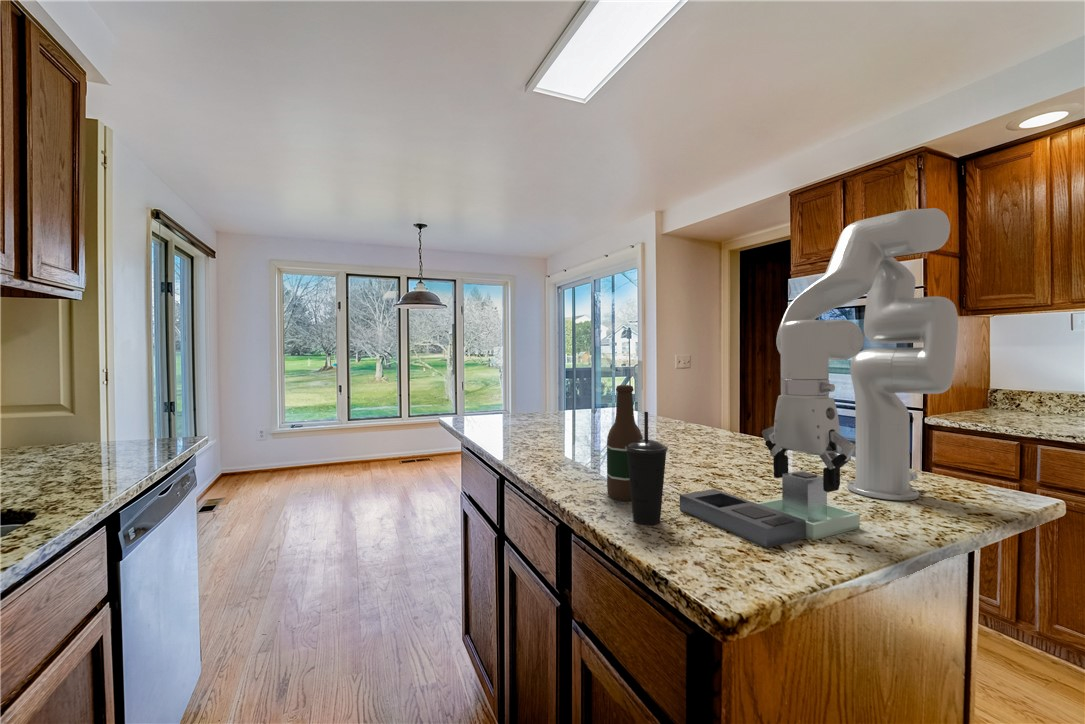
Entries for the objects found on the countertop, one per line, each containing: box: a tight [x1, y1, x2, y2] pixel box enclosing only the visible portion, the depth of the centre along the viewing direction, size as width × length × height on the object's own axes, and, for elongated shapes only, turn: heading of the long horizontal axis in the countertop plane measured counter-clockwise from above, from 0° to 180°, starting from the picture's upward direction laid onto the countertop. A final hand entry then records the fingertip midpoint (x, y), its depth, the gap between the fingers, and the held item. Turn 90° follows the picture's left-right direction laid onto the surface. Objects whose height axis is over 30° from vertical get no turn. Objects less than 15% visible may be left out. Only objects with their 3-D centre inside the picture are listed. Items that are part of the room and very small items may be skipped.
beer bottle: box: [606, 384, 644, 502], centre depth 99 cm, size 8×8×24 cm
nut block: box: [781, 470, 828, 523], centre depth 83 cm, size 5×5×8 cm
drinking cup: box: [625, 411, 669, 526], centre depth 84 cm, size 8×8×20 cm
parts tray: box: [756, 497, 861, 541], centre depth 83 cm, size 12×12×2 cm
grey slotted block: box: [679, 488, 807, 549], centre depth 83 cm, size 9×20×3 cm, turn 24°
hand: (804, 483), depth 83 cm, fingers open, 9 cm apart
